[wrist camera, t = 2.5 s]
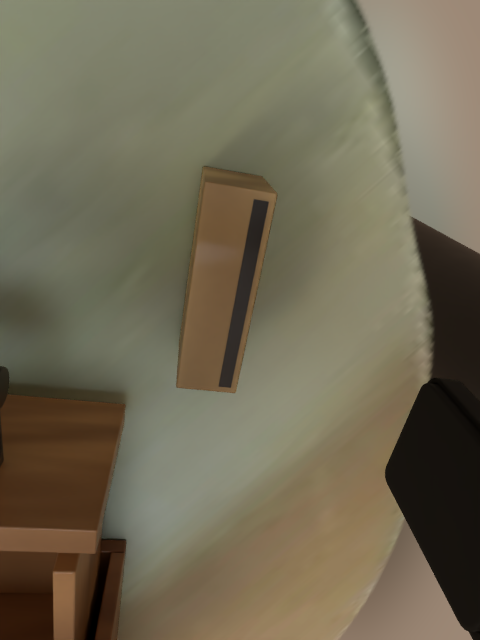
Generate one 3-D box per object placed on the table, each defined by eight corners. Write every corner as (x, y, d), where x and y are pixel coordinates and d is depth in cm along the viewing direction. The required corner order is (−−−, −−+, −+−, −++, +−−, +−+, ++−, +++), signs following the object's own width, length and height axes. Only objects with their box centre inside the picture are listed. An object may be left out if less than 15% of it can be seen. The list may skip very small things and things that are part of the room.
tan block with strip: (263, 176, 17) (278, 193, 14) (229, 349, 21) (235, 394, 18) (203, 166, 17) (204, 181, 14) (178, 343, 20) (175, 389, 17)
